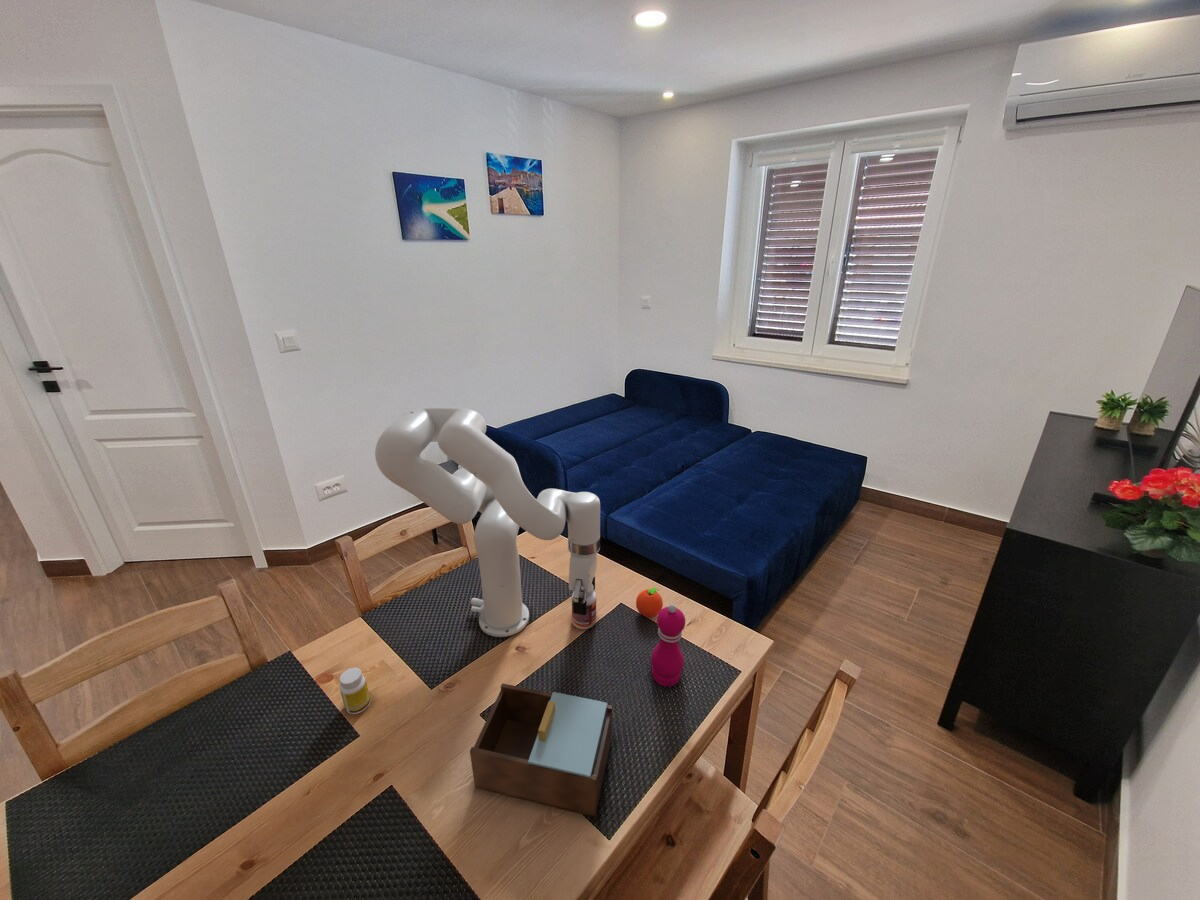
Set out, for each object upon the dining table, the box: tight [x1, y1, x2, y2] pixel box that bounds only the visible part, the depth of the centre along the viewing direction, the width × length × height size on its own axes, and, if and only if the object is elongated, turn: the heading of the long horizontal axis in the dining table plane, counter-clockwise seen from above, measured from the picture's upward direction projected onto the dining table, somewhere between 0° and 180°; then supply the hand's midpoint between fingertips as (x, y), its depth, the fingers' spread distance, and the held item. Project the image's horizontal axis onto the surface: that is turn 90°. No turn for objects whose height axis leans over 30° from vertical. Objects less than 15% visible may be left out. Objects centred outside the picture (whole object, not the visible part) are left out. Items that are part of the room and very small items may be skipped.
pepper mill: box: [650, 603, 686, 687], centre depth 105 cm, size 7×7×20 cm
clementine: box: [635, 587, 664, 618], centre depth 126 cm, size 8×7×7 cm
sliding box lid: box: [528, 691, 608, 778], centre depth 85 cm, size 11×14×3 cm
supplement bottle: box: [339, 667, 371, 715], centre depth 99 cm, size 5×5×8 cm
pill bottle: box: [571, 584, 597, 630], centre depth 121 cm, size 6×6×11 cm
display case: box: [469, 682, 613, 818], centre depth 88 cm, size 22×14×10 cm, turn 78°
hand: (584, 600), depth 121 cm, fingers open, 8 cm apart
